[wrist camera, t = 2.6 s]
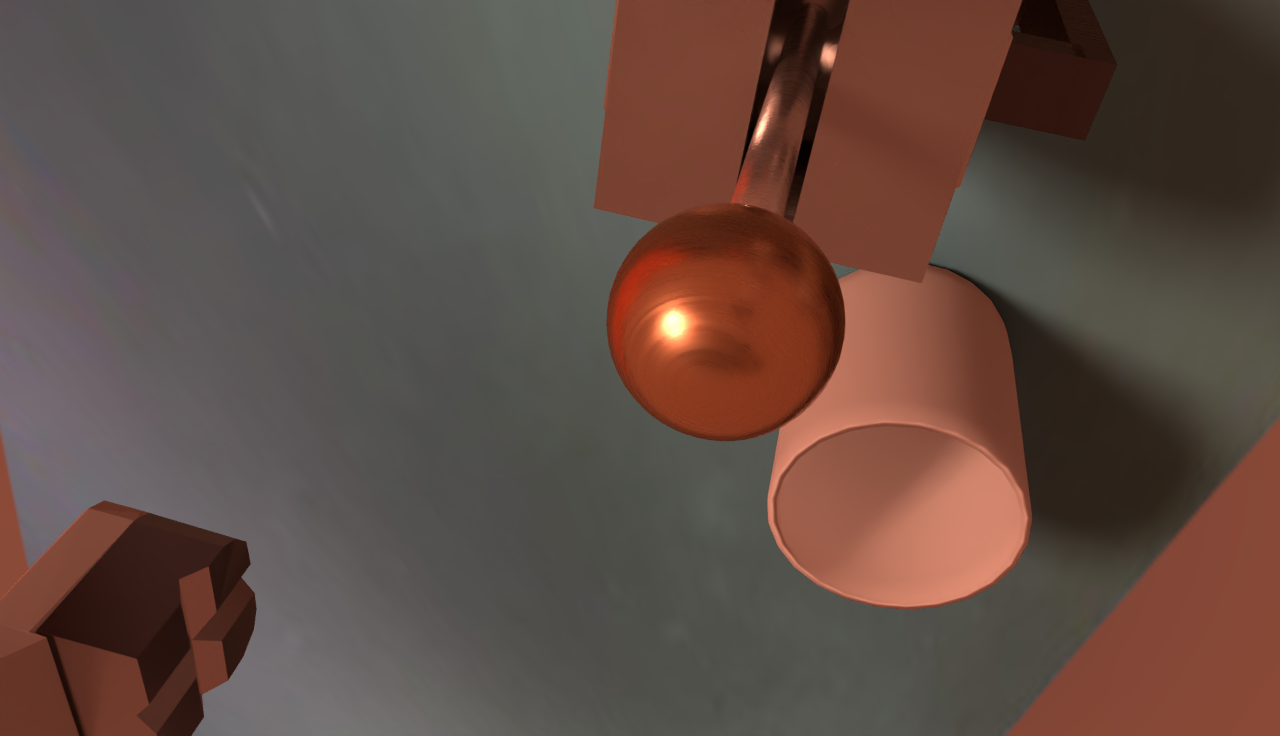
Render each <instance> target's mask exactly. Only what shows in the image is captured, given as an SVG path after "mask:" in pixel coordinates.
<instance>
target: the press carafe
mask: <svg viewBox="0 0 1280 736" xmlns="http://www.w3.org/2000/svg"><path fill="white" fill-rule="evenodd" d="M776 1H777V0H616V8H615V16H614V24H613V33H612V41H611V50H610V58H609V67H608V75H607V83H606V92H605V100H604V110H605V120H604V128H603V136H602V145H601V153H600V161H599V170H598V178H597V186H596V195H595V203H594V208H596V209H600V210H604V211H609V212H613V213H618V214H622V215H626V216H631V217H635V218H639V219H644V220H648V221H652V222H657V223H660V222H662V221H663V220H665V219H667V218H669V217H671V216H673V215H675V214H677V213H679V212H681V211H684V210H687V209H690V208H693V207H696V206H701V205H706V204H713V203H730V202H731V199H732V196H733V193H734V190H735V187H736V184H737V181H738V178H739V175H740V172H741V169H742V166H743V163H744V160H745V157H746V154H747V151H748V148H749V145H750V142H751V139H752V136H753V133H754V131H755V128H754V127H752V126H750V124H751V119H752V114H753V110H754V105H755V100H756V95H757V91H758V86H759V81H760V77H761V72H762V67H763V62H764V58H765V53H766V48H767V44H768V39H769V34H770V29H771V25H772V20H773V15H774V11H775V6H776ZM1014 24H1015V25H1019V27H1020V31H1021V33H1019V32H1014V31H1012V28H1013V25H1014ZM1116 66H1117V63H1116V61H1115V59H1114V57H1113V54H1112V52H1111V50H1110V48H1109V45H1108V43H1107V41H1106V39H1105V37H1104V34H1103V32H1102V30H1101V28H1100V26H1099V23H1098V21H1097V19H1096V17H1095V14H1094V12H1093V10H1092V8H1091V6H1090V3H1089V1H1088V0H849V4H848V8H847V12H846V16H845V20H844V24H843V28H842V31H841V35H840V39H839V43H838V47H837V51H836V55H835V59H834V63H833V67H832V71H831V75H830V79H829V83H828V87H827V90H826V94H825V98H824V102H823V106H822V110H821V114H820V118H819V122H818V126H817V130H816V134H815V138H814V141H802V142H801V146H800V150H799V154H798V159H797V163H796V167H795V171H794V175H793V180H792V184H791V188H790V192H789V197H788V201H787V205H786V209H785V214H784V218H785V219H787V220H789V221H791V222H792V223H794V224H795V225H796V226H798V227H799V228H801V229H802V230H803V231H804V232H806V233H807V234H808V235H809V236H810V237H811V238H812V239H813V240H814V241H815V242H816V244H817V245H818V246H819V247H820V249H821V250H822V251H823V253H824V254H825V256H826V257H827V259H828V261H829V262H831V263H835V264H840V265H844V266H848V267H853V268H857V269H861V270H866V271H870V272H875V273H879V274H883V275H888V276H892V277H896V278H901V279H905V280H909V281H914V282H918V283H922V281H923V278H924V276H925V273H926V270H927V267H928V264H929V262H930V259H931V256H932V253H933V250H934V247H935V245H936V242H937V239H938V236H939V233H940V231H941V228H942V225H943V222H944V219H945V216H946V214H947V211H948V208H949V205H950V202H951V200H952V197H953V194H954V191H955V189H956V188H958V187H959V186H960V185H961V182H962V179H963V176H964V173H965V171H966V168H967V165H968V162H969V159H970V157H971V154H972V151H973V148H974V145H975V143H976V140H977V137H978V134H979V131H980V129H981V126H982V123H983V120H984V119H987V120H991V121H996V122H1001V123H1005V124H1010V125H1015V126H1020V127H1024V128H1029V129H1034V130H1038V131H1043V132H1048V133H1052V134H1057V135H1062V136H1066V137H1071V138H1076V139H1081V140H1085V139H1086V137H1087V134H1088V132H1089V130H1090V127H1091V125H1092V123H1093V120H1094V118H1095V116H1096V113H1097V111H1098V109H1099V106H1100V104H1101V101H1102V99H1103V97H1104V94H1105V92H1106V90H1107V87H1108V85H1109V83H1110V80H1111V78H1112V76H1113V73H1114V71H1115V69H1116Z"/></svg>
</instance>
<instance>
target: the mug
mask: <svg viewBox="0 0 1280 736" xmlns="http://www.w3.org/2000/svg"><path fill="white" fill-rule="evenodd" d="M838 281H839V284H840V288H841V292H842V296H843V300H844V306H845V338H844V342H843V347H842V351H841V355H840V359H839V362H838V364H837V367H836V369H835V371H834V373H833V375H832V377H831V379H830V381H829V383H828V384H827V386H826V388H825V389H824V391H823V392H822V393H821V394H820V395H819V397H818V398H817V399H816V400H815V401H814V403H813V404H812V405H811V406H810V407H809V408H808V409H807V410H806V411H804V412H803V413H802V414H801V415H800V416H798V417H797V418H795V419H794V420H792V421H791V422H789V423H788V424H786V425H785V426H783V427H781V428H780V431H779V437H778V442H777V448H776V454H775V459H774V465H773V470H772V476H771V482H770V487H769V493H768V522H769V525H770V528H771V530H772V533H773V535H774V538H775V540H776V543H777V545H778V547H779V548H780V549H781V551H782V552H783V553H784V554H785V556H786V557H787V558H788V560H789V561H790V562H791V564H792V565H793V566H794V567H795V568H796V569H798V570H799V571H800V572H801V573H803V574H804V575H805V576H806V577H808V578H809V579H810V580H812V581H813V582H814V583H815V584H817V585H819V586H821V587H823V588H825V589H827V590H829V591H831V592H833V593H835V594H837V595H839V596H841V597H843V598H846V599H850V600H853V601H857V602H860V603H864V604H868V605H871V606H876V607H886V608H896V609H906V610H907V609H919V608H931V607H940V606H943V605H947V604H951V603H954V602H958V601H962V600H965V599H969V598H971V597H973V596H974V595H976V594H978V593H980V592H982V591H984V590H986V589H988V588H989V587H991V586H993V585H995V584H996V583H997V582H998V581H999V580H1000V579H1002V578H1003V577H1004V576H1005V575H1006V574H1007V573H1008V572H1009V571H1010V570H1011V569H1012V568H1013V567H1015V566H1016V564H1017V562H1018V560H1019V558H1020V557H1021V555H1022V553H1023V551H1024V550H1025V548H1026V546H1027V544H1028V541H1029V535H1030V529H1031V523H1032V511H1031V503H1030V495H1029V487H1028V479H1027V471H1026V463H1025V455H1024V447H1023V439H1022V431H1021V423H1020V415H1019V407H1018V399H1017V391H1016V383H1015V375H1014V367H1013V359H1012V353H1011V348H1010V344H1009V339H1008V334H1007V331H1006V328H1005V325H1004V322H1003V320H1002V318H1001V316H1000V315H999V313H998V311H997V310H996V308H995V306H994V304H993V303H992V301H991V300H990V299H989V298H988V297H987V296H986V295H985V294H984V293H983V292H982V291H981V290H979V289H978V288H977V287H976V286H975V285H974V284H973V283H972V282H970V281H968V280H966V279H964V278H962V277H960V276H959V275H957V274H955V273H953V272H951V271H949V270H947V269H943V268H939V267H935V266H931V265H928V267H927V270H926V273H925V276H924V278H923V281H922V283H918V282H914V281H909V280H905V279H901V278H896V277H892V276H888V275H883V274H879V273H875V272H870V271H866V270H861V269H859V270H857V271H855V272H853V273H851V274H849V275H846V276H844V277H842V278H840V279H838Z"/></svg>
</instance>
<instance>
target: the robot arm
mask: <svg viewBox="0 0 1280 736" xmlns="http://www.w3.org/2000/svg"><path fill="white" fill-rule="evenodd" d="M250 564H251V563H250V558H249V553H248V548H247V542H245V541H242V540H239V539H235V538H232V537H229V536H225V535H222V534H219V533H215V532H212V531H208V530H205V529H202V528H198V527H195V526H192V525H188V524H185V523H181V522H178V521H175V520H171V519H168V518H165V517H161V516H158V515H154V514H152V513H148V512H144V511H141V510H137V509H134V508H130V507H126V506H123V505H119V504H115V503H112V502H108V501H105V500H104V501H102V502H100V503H98V504H96V505H94V506H92V507H90V508H88V509H87V510H86V511H84V513H83V514H82V515H81V516H80V517H79V518H78V519H77V520H76V521H75V522H74V523H73V524H72V525H71V526H70V527H69V528H68V529H67V530H66V531H65V532H64V533H63V534H62V535H61V536H60V537H59V538H58V539H57V541H56V542H55V543H54V544H53V545H52V546H51V547H50V548H49V549H48V550H47V551H46V552H45V553H44V554H43V555H42V556H41V557H40V558H39V559H38V560H37V561H36V562H35V563H34V564H33V565H32V566H31V567H30V569H29V570H28V571H27V572H26V573H25V574H24V575H23V576H22V577H21V578H20V579H19V580H18V581H17V582H16V583H15V584H14V585H13V586H12V587H11V588H10V589H9V590H8V591H7V592H6V593H5V595H4V596H3V597H2V598H1V599H0V736H192V734H193V733H194V731H195V730H196V728H197V727H198V725H199V724H200V722H201V721H202V719H203V718H204V711H203V701H202V694H204V693H206V692H207V691H209V690H211V689H213V688H215V687H217V686H219V685H220V684H222V683H224V682H226V681H228V680H229V678H230V677H231V675H232V674H233V672H234V670H235V669H236V667H237V666H238V664H239V663H240V661H241V659H242V658H243V656H244V653H245V651H246V648H247V646H248V643H249V641H250V638H251V635H252V633H253V630H254V625H255V617H256V600H255V593H254V592H253V591H252V589H251V588H250V587H249V586H248V585H247V584H246V582H245V581H244V580H243V579H242V578H241V577H242V575H243V574H244V573H245V571H246V570H247V568H248V567H249V566H250Z"/></svg>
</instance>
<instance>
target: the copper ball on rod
mask: <svg viewBox="0 0 1280 736" xmlns="http://www.w3.org/2000/svg"><path fill="white" fill-rule="evenodd" d="M848 4H849V0H777V1H776V6H775V11H774V15H773V20H772V25H771V29H770V34H769V39H768V44H767V48H766V53H765V58H764V62H763V67H762V72H761V77H760V81H759V86H758V91H757V95H756V100H755V105H754V110H753V114H752V119H751V124H750V126H752V127H754V128H755V131H754V133H753V136H752V139H751V142H750V145H749V148H748V151H747V154H746V157H745V160H744V163H743V166H742V169H741V172H740V175H739V178H738V181H737V184H736V187H735V190H734V193H733V196H732V199H731V202H730V203H713V204H706V205H701V206H696V207H693V208H690V209H687V210H684V211H681V212H679V213H677V214H675V215H673V216H671V217H669V218H667V219H665V220H663V221H662V222H660V223H659V224H658V225H656V226H655V227H653V228H652V229H651V230H650V231H649V232H648V233H647V234H646V235H644V236H643V237H642V238H641V239H640V240H639V241H638V242H637V243H636V244H635V246H634V247H633V248H632V249H631V251H630V252H629V253H628V255H627V256H626V258H625V260H624V261H623V263H622V265H621V267H620V268H619V270H618V272H617V275H616V277H615V280H614V283H613V285H612V288H611V292H610V296H609V301H608V308H607V323H606V326H607V337H608V344H609V348H610V353H611V357H612V360H613V362H614V365H615V367H616V370H617V372H618V374H619V376H620V378H621V380H622V382H623V384H624V385H625V387H626V388H627V390H628V391H629V392H630V394H631V395H632V396H633V398H634V399H635V400H636V401H637V402H638V403H639V404H640V405H641V406H642V407H643V408H644V409H645V410H646V411H647V412H648V413H649V414H650V415H652V416H653V417H654V418H656V419H657V420H659V421H660V422H661V423H663V424H665V425H667V426H668V427H670V428H672V429H674V430H676V431H679V432H681V433H684V434H687V435H690V436H693V437H696V438H701V439H706V440H714V441H738V440H746V439H750V438H754V437H758V436H761V435H764V434H767V433H770V432H773V431H775V430H777V429H779V428H781V427H783V426H785V425H786V424H788V423H789V422H791V421H792V420H794V419H795V418H797V417H798V416H800V415H801V414H802V413H803V412H804V411H806V410H807V409H808V408H809V407H810V406H811V405H812V404H813V403H814V401H815V400H816V399H817V398H818V397H819V395H820V394H821V393H822V392H823V391H824V389H825V388H826V386H827V384H828V383H829V381H830V379H831V377H832V375H833V373H834V371H835V369H836V367H837V364H838V362H839V359H840V355H841V351H842V347H843V342H844V338H845V306H844V300H843V296H842V292H841V288H840V284H839V281H838V279H837V276H836V274H835V271H834V269H833V267H832V266H831V264H830V262H829V261H828V259H827V257H826V256H825V254H824V253H823V251H822V250H821V249H820V247H819V246H818V245H817V244H816V242H815V241H814V240H813V239H812V238H811V237H810V236H809V235H808V234H807V233H806V232H804V231H803V230H802V229H801V228H799V227H798V226H796V225H795V224H794V223H792V222H791V221H789V220H787V219H785V218H784V214H785V209H786V205H787V201H788V197H789V192H790V188H791V184H792V180H793V175H794V171H795V167H796V163H797V159H798V154H799V150H800V146H801V142H802V141H814V138H815V134H816V130H817V126H818V122H819V118H820V114H821V110H822V106H823V102H824V98H825V94H826V90H827V87H828V83H829V79H830V75H831V71H832V67H833V63H834V59H835V55H836V51H837V47H838V43H839V39H840V35H841V31H842V28H843V24H844V20H845V16H846V12H847V8H848Z"/></svg>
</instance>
